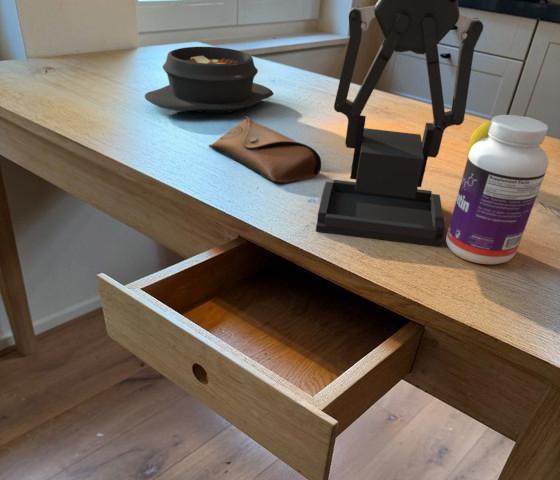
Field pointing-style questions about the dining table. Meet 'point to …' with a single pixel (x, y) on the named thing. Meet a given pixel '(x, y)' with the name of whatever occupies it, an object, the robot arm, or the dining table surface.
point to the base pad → (381, 215)
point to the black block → (389, 163)
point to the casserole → (209, 81)
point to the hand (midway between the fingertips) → (385, 178)
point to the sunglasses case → (269, 152)
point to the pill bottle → (498, 190)
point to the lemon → (479, 135)
